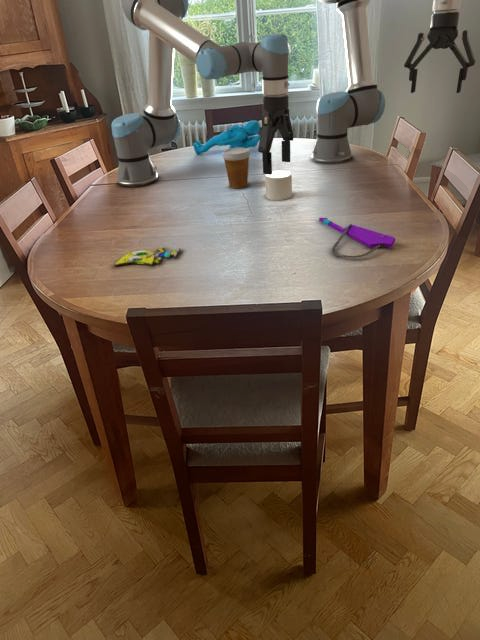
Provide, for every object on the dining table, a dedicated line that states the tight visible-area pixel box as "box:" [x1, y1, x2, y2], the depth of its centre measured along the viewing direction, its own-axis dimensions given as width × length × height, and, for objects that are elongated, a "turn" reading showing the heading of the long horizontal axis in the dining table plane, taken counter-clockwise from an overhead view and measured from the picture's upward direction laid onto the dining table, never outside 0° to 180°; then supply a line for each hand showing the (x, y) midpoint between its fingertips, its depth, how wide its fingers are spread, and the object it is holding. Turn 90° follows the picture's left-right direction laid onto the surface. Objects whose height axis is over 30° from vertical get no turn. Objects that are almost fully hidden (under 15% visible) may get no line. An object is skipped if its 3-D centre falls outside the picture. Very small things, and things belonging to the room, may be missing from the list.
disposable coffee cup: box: [222, 148, 251, 189], centre depth 166 cm, size 10×10×12 cm
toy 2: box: [114, 247, 181, 267], centre depth 124 cm, size 10×1×15 cm
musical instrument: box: [318, 217, 396, 259], centre depth 123 cm, size 24×2×20 cm
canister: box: [264, 169, 293, 201], centre depth 156 cm, size 8×8×7 cm
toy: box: [192, 120, 261, 155], centre depth 208 cm, size 17×11×30 cm
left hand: (277, 167), depth 153 cm, fingers open, 13 cm apart
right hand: (435, 92), depth 150 cm, fingers open, 13 cm apart
